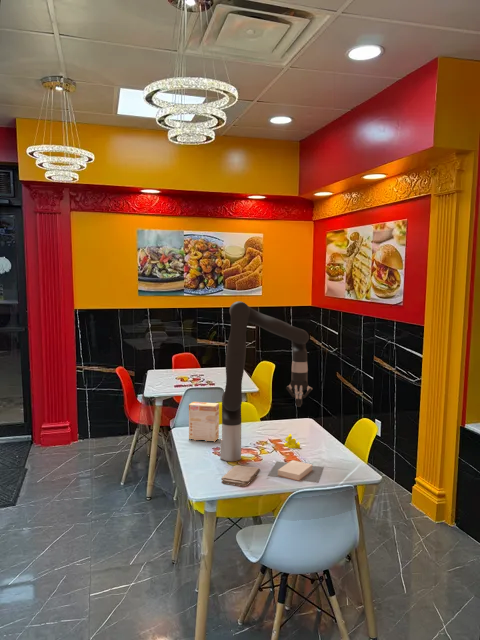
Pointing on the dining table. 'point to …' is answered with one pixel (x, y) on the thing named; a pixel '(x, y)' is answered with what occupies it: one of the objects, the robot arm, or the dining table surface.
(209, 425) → the coffeecake box
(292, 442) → the crumpled paper
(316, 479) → the mat
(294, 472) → the tile
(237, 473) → the washcloth
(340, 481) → the dining table surface
